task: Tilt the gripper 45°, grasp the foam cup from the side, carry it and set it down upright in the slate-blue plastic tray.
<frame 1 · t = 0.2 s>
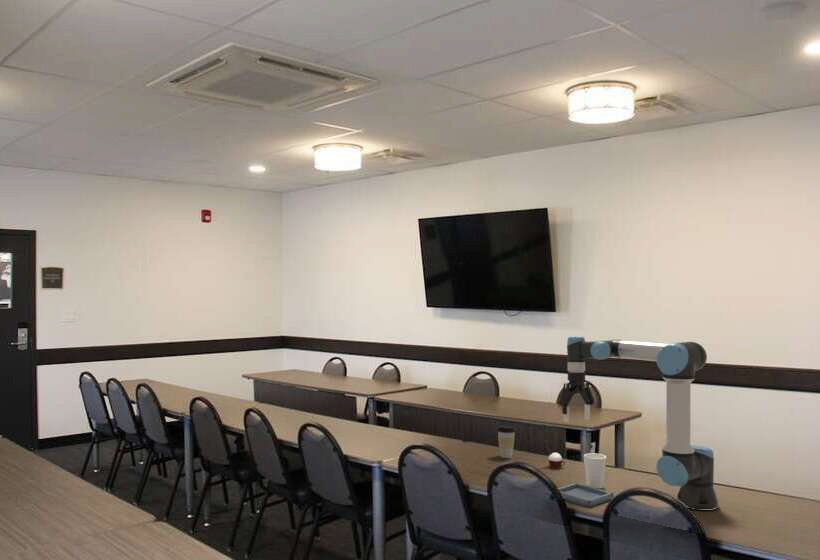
hand: (576, 420, 298), 27 cm above the table, tool pointing down, fingers open, 13 cm apart
coffee cup: (506, 457, 342), on the table
cocoa: (554, 467, 323), on the table
tray: (582, 497, 278), on the table
foam cup: (594, 486, 293), on the table
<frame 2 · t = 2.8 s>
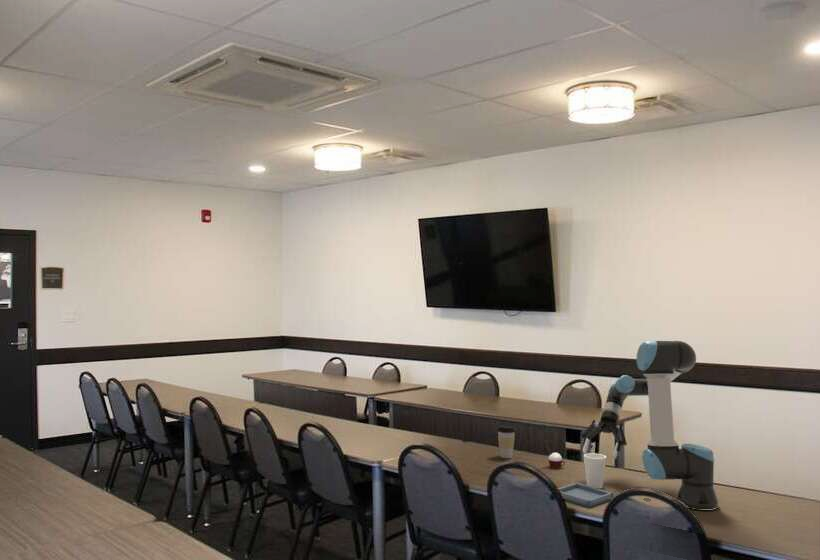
hand: (599, 454, 300), 12 cm above the table, tool tilted 45°, fingers open, 13 cm apart
nothing on the table moved.
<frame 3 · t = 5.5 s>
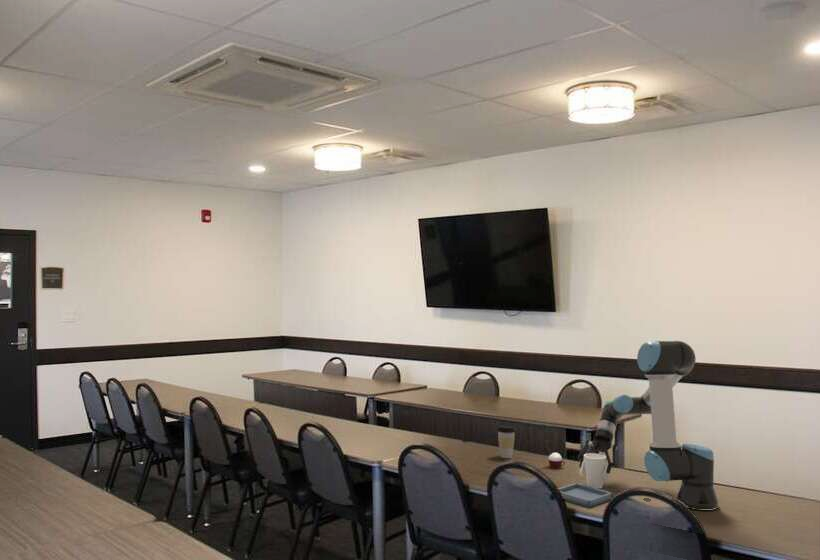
hand: (592, 477, 291), 5 cm above the table, tool tilted 45°, fingers closed on foam cup, 9 cm apart
foam cup: (594, 486, 293), on the table, touching gripper
everything else where it was.
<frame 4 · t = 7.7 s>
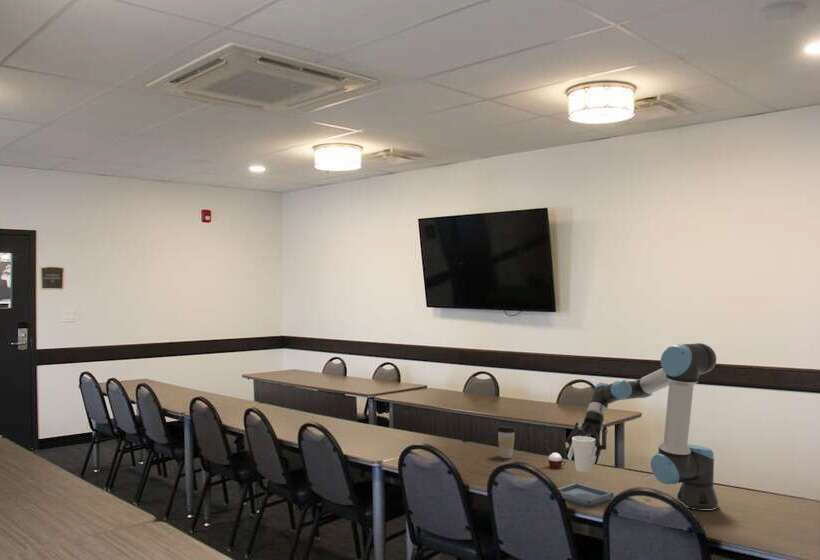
hand: (580, 460, 280), 15 cm above the table, tool tilted 45°, fingers closed on foam cup, 9 cm apart
foam cup: (583, 470, 283), point 10 cm above the table, touching gripper
everything else where it was.
when the fingers open (7 cm above the table, at t = 10.0 s): foam cup drops 1 cm, resting on tray.
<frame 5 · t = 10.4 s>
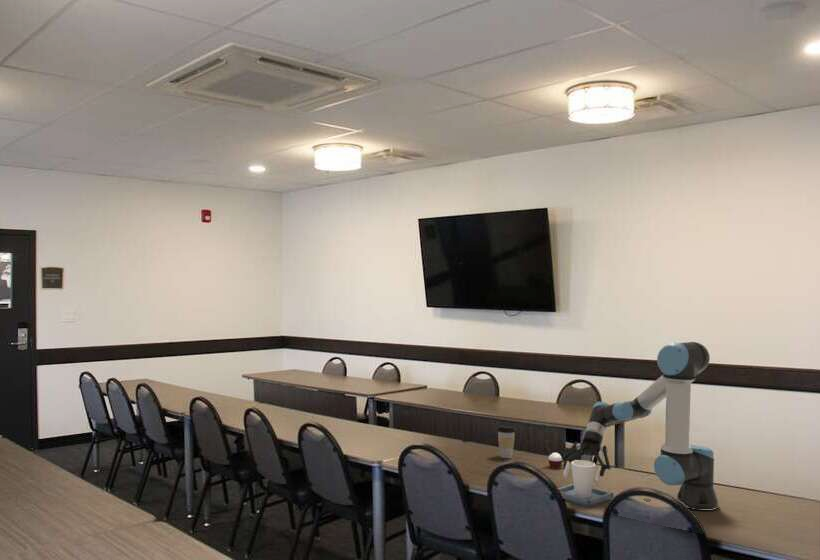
hand: (580, 479, 276), 8 cm above the table, tool tilted 45°, fingers open, 13 cm apart
foam cup: (582, 495, 278), point 1 cm above the table, touching tray
everything else where it was.
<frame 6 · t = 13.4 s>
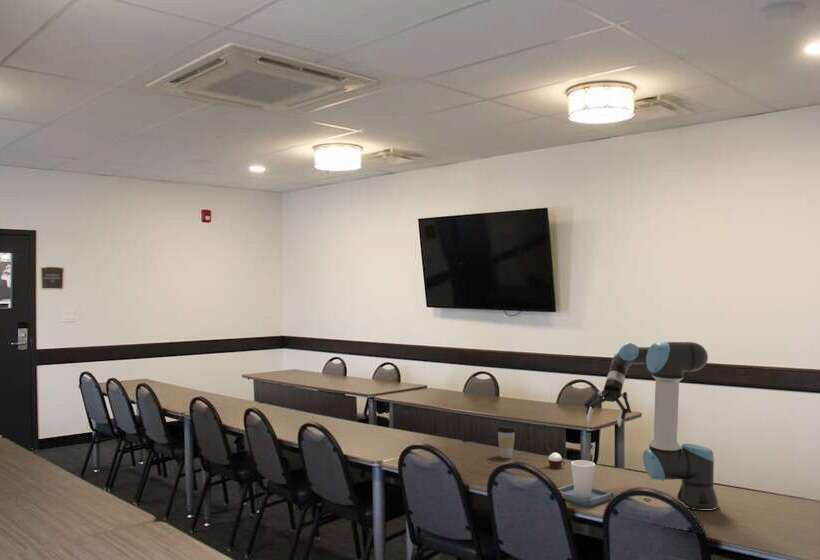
hand: (603, 422, 294), 27 cm above the table, tool tilted 45°, fingers open, 13 cm apart
nothing on the table moved.
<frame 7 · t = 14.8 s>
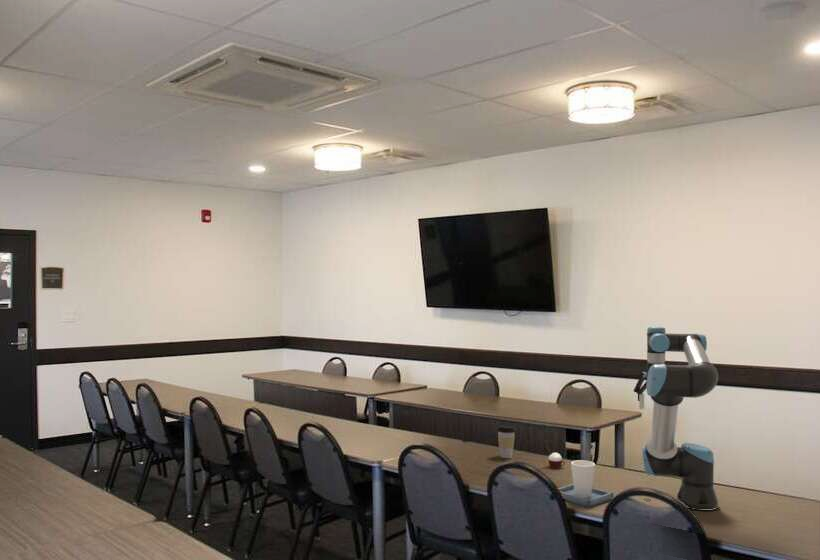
hand: (655, 411, 297), 32 cm above the table, tool pointing down, fingers open, 13 cm apart
nothing on the table moved.
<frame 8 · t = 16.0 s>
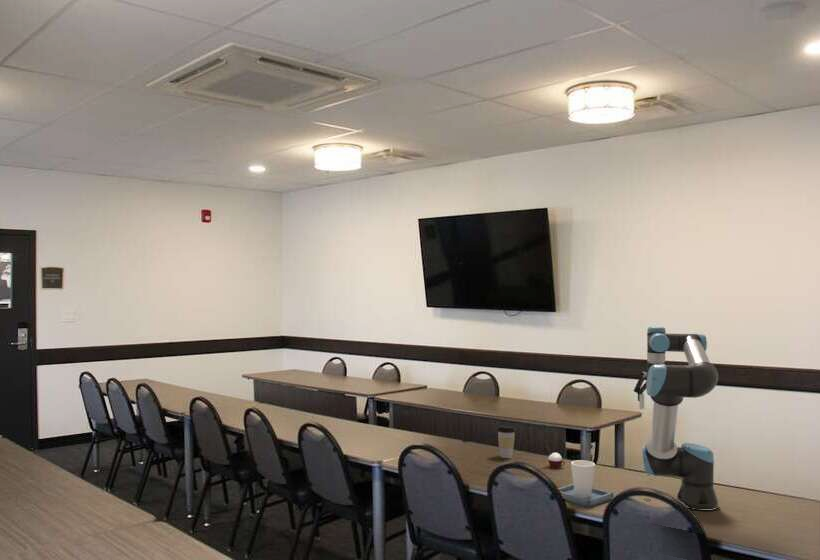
hand: (655, 411, 297), 32 cm above the table, tool pointing down, fingers open, 13 cm apart
nothing on the table moved.
at the end: foam cup inside the target area on the tray (0.1 cm from its centre), point 0.8 cm above the tray's base; foam cup tilted 0°; the gripper is holding nothing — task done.
